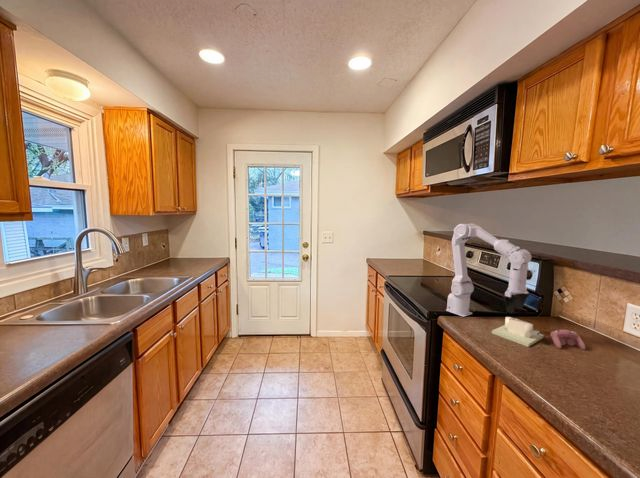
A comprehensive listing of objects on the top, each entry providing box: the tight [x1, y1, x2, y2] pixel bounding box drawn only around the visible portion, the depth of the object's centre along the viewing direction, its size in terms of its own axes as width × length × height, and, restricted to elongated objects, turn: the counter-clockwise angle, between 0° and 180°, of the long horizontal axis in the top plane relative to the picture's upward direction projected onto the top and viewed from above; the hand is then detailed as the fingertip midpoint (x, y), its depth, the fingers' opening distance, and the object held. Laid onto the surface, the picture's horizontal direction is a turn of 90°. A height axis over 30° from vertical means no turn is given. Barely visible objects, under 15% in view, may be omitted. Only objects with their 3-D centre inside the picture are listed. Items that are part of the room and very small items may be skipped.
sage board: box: [491, 324, 545, 348], centre depth 114 cm, size 13×14×1 cm
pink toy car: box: [550, 329, 587, 351], centre depth 106 cm, size 10×5×7 cm, turn 85°
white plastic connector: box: [504, 316, 541, 338], centre depth 112 cm, size 12×4×5 cm, turn 33°
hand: (514, 310), depth 116 cm, fingers open, 7 cm apart
